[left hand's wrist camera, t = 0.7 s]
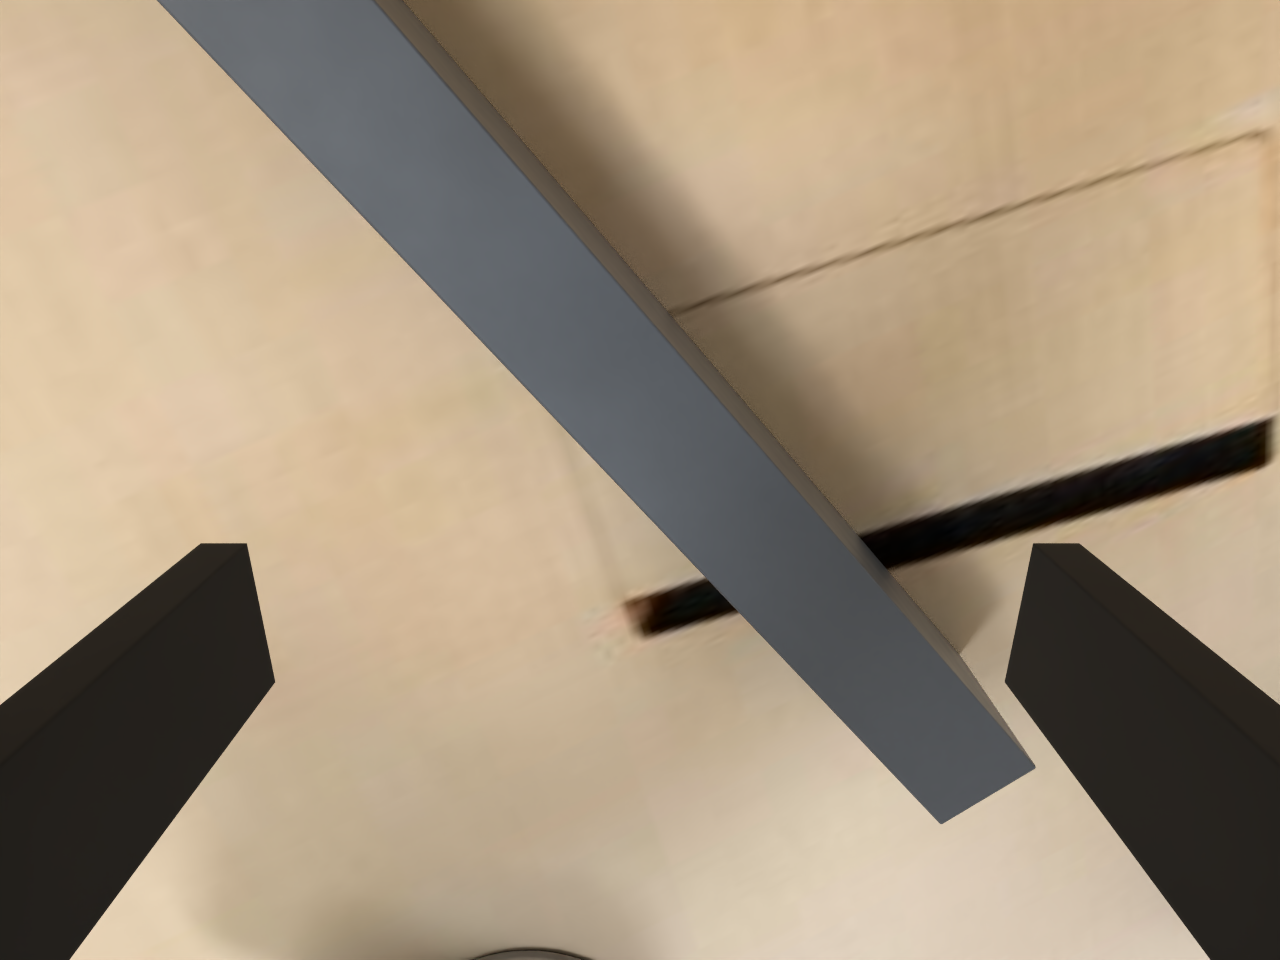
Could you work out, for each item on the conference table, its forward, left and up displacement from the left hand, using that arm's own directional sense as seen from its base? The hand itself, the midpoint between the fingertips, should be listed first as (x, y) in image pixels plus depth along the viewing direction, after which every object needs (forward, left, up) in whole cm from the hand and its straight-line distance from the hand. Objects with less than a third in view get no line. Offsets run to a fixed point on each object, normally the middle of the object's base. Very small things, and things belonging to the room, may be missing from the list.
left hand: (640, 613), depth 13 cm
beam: (+8, +15, -23) cm, 29 cm away
